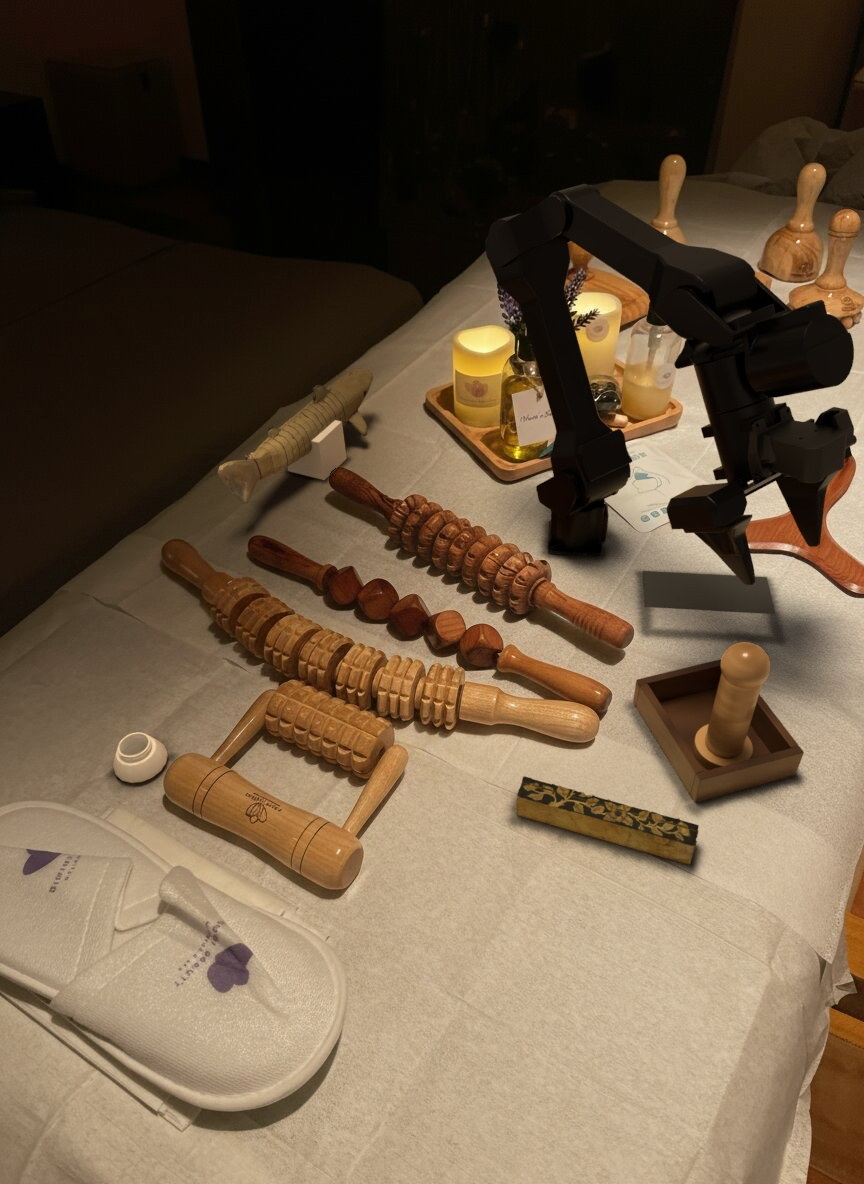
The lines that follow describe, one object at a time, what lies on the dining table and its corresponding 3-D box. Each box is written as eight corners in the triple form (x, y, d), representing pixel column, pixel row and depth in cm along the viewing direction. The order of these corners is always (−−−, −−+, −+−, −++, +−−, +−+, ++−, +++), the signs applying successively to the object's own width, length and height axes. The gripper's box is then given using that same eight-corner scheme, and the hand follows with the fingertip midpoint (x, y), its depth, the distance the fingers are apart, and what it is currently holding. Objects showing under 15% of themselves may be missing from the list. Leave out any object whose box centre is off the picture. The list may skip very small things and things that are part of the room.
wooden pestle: (695, 772, 80) (721, 669, 71) (690, 728, 84) (714, 625, 75) (754, 776, 79) (787, 673, 70) (746, 732, 83) (777, 629, 74)
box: (632, 705, 87) (636, 679, 85) (723, 682, 89) (730, 656, 87) (693, 806, 78) (700, 780, 76) (794, 778, 80) (804, 752, 77)
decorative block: (694, 846, 75) (700, 822, 73) (690, 870, 73) (696, 846, 71) (522, 797, 80) (523, 773, 77) (514, 818, 78) (515, 794, 76)
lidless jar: (148, 735, 87) (105, 767, 84) (140, 716, 85) (96, 748, 82) (178, 760, 84) (135, 794, 82) (171, 740, 83) (127, 774, 80)
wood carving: (207, 534, 112) (187, 460, 105) (346, 409, 136) (337, 341, 128) (264, 551, 109) (247, 476, 102) (396, 420, 132) (391, 351, 125)
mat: (646, 632, 95) (647, 628, 95) (642, 573, 103) (643, 570, 102) (780, 640, 93) (781, 636, 93) (766, 580, 101) (766, 576, 100)
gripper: (739, 427, 67) (789, 610, 71) (885, 356, 75) (924, 525, 78) (641, 442, 77) (689, 603, 80) (779, 379, 85) (818, 528, 88)
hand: (782, 564), depth 82 cm, fingers open, 9 cm apart
